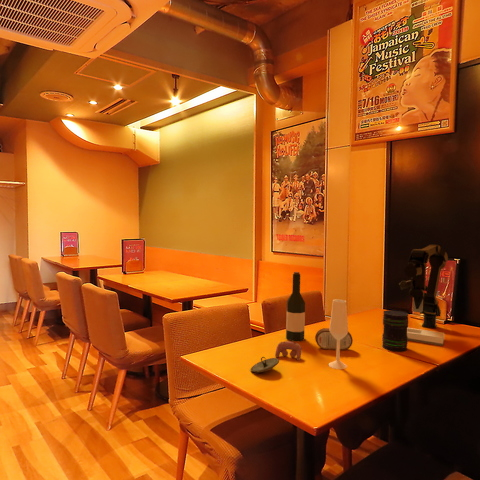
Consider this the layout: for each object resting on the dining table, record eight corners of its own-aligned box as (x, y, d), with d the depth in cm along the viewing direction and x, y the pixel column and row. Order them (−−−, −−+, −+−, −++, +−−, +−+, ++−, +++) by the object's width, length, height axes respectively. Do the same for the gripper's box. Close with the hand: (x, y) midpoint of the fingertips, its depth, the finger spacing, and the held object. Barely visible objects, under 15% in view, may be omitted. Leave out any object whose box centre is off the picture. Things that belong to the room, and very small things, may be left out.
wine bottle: (283, 340, 169) (285, 272, 167) (288, 334, 176) (289, 270, 175) (302, 342, 166) (303, 274, 164) (306, 337, 173) (307, 271, 172)
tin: (351, 348, 158) (352, 328, 158) (353, 351, 155) (353, 331, 155) (314, 347, 160) (315, 327, 159) (315, 349, 157) (316, 329, 156)
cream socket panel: (387, 331, 184) (388, 324, 184) (444, 340, 171) (444, 332, 171) (384, 336, 176) (384, 329, 176) (442, 346, 164) (443, 338, 163)
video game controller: (301, 362, 147) (303, 343, 149) (299, 360, 143) (301, 341, 145) (276, 358, 150) (278, 340, 152) (273, 357, 146) (276, 338, 148)
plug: (413, 309, 185) (414, 295, 185) (422, 311, 183) (423, 296, 183) (412, 311, 182) (413, 297, 182) (421, 312, 180) (422, 298, 179)
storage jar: (410, 348, 160) (412, 313, 160) (402, 353, 153) (403, 317, 152) (387, 342, 167) (388, 309, 166) (378, 347, 160) (379, 312, 159)
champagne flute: (344, 370, 135) (345, 303, 134) (325, 366, 138) (327, 301, 137) (349, 364, 141) (351, 300, 139) (331, 360, 144) (333, 298, 143)
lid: (278, 378, 128) (278, 363, 127) (248, 375, 129) (249, 361, 129) (279, 366, 138) (280, 352, 138) (252, 364, 140) (253, 350, 139)
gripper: (403, 272, 194) (402, 302, 195) (397, 276, 178) (396, 309, 179) (428, 274, 188) (426, 305, 189) (423, 278, 172) (422, 312, 173)
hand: (417, 308), depth 182 cm, fingers closed on plug, 4 cm apart
